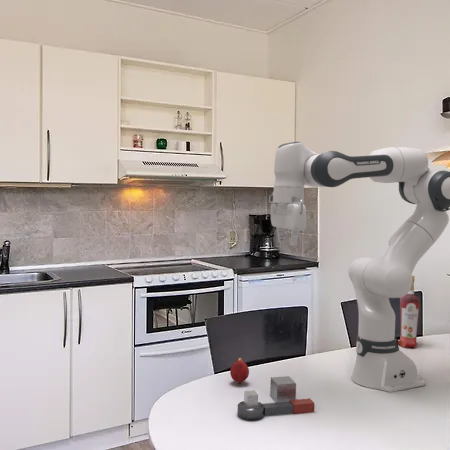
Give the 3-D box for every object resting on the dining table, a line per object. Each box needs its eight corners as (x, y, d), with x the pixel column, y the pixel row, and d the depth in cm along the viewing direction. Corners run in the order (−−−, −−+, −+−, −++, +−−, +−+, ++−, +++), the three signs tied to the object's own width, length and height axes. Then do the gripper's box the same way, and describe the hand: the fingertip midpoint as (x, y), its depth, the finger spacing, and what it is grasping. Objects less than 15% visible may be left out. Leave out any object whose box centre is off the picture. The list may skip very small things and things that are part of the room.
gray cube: (288, 394, 146) (288, 376, 145) (295, 402, 140) (296, 383, 140) (270, 396, 144) (270, 377, 144) (276, 404, 139) (277, 384, 139)
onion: (247, 388, 150) (247, 362, 150) (228, 386, 152) (228, 360, 151) (250, 381, 156) (250, 356, 156) (231, 379, 157) (232, 354, 157)
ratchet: (306, 404, 139) (307, 383, 139) (317, 415, 133) (317, 393, 132) (234, 410, 134) (234, 388, 134) (241, 422, 128) (241, 399, 127)
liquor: (399, 348, 193) (402, 277, 192) (396, 343, 200) (399, 274, 199) (419, 349, 192) (422, 277, 190) (415, 344, 199) (418, 275, 198)
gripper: (312, 197, 137) (311, 247, 138) (286, 197, 157) (285, 240, 158) (291, 197, 136) (290, 247, 136) (267, 196, 156) (266, 240, 156)
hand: (287, 244), depth 147 cm, fingers open, 8 cm apart
